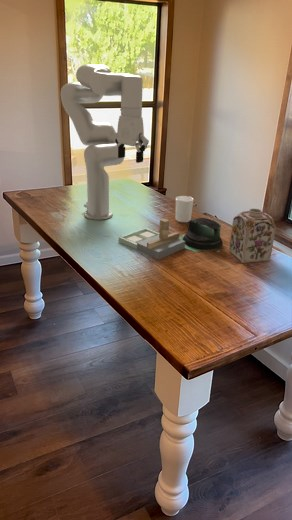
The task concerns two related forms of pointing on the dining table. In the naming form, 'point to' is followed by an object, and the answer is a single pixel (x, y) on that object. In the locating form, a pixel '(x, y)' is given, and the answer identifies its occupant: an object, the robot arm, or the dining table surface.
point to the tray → (129, 243)
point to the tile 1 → (135, 239)
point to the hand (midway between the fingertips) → (130, 159)
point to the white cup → (183, 208)
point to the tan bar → (163, 235)
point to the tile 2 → (146, 235)
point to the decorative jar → (252, 236)
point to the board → (160, 247)
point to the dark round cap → (202, 235)
